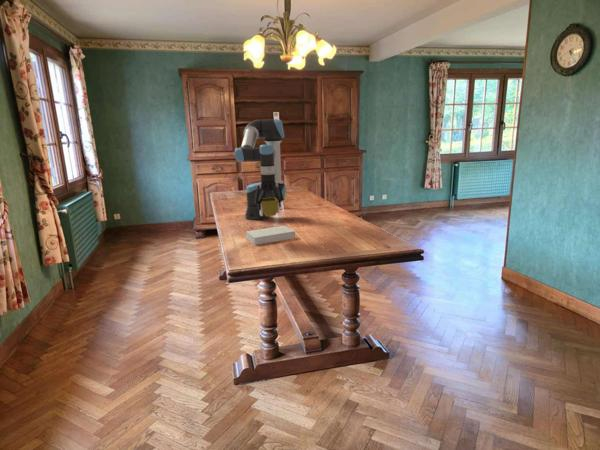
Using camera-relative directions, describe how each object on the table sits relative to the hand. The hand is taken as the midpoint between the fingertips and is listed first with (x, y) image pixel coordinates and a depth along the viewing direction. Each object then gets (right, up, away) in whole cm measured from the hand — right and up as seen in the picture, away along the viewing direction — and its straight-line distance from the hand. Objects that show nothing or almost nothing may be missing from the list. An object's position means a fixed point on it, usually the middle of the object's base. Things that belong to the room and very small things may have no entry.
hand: (269, 214), depth 214 cm
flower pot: (0, -1, 0) cm, 1 cm away
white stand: (0, -13, +4) cm, 14 cm away
